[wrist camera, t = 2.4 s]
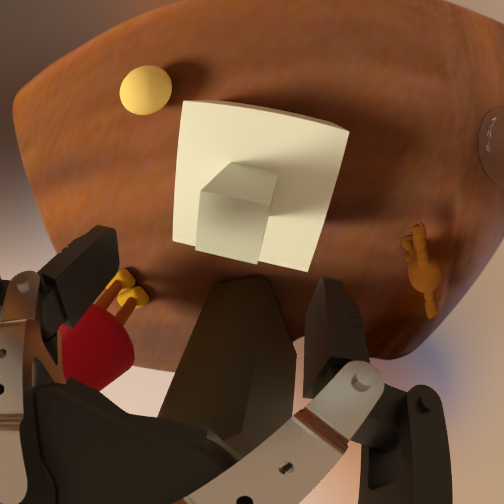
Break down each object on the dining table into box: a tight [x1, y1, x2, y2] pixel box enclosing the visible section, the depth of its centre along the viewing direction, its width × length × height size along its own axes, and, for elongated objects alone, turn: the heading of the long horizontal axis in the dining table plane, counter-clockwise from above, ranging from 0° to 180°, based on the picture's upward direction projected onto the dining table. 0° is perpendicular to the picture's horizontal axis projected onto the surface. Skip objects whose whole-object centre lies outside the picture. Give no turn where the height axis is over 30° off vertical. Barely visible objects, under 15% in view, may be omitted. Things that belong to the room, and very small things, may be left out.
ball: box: [120, 65, 172, 115], centre depth 21 cm, size 5×5×5 cm
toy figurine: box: [401, 223, 443, 319], centre depth 24 cm, size 12×4×7 cm, turn 30°
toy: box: [59, 269, 149, 391], centre depth 24 cm, size 27×11×30 cm, turn 30°
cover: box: [173, 100, 349, 272], centre depth 19 cm, size 11×11×15 cm
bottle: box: [157, 276, 297, 462], centre depth 26 cm, size 8×16×25 cm, turn 20°
